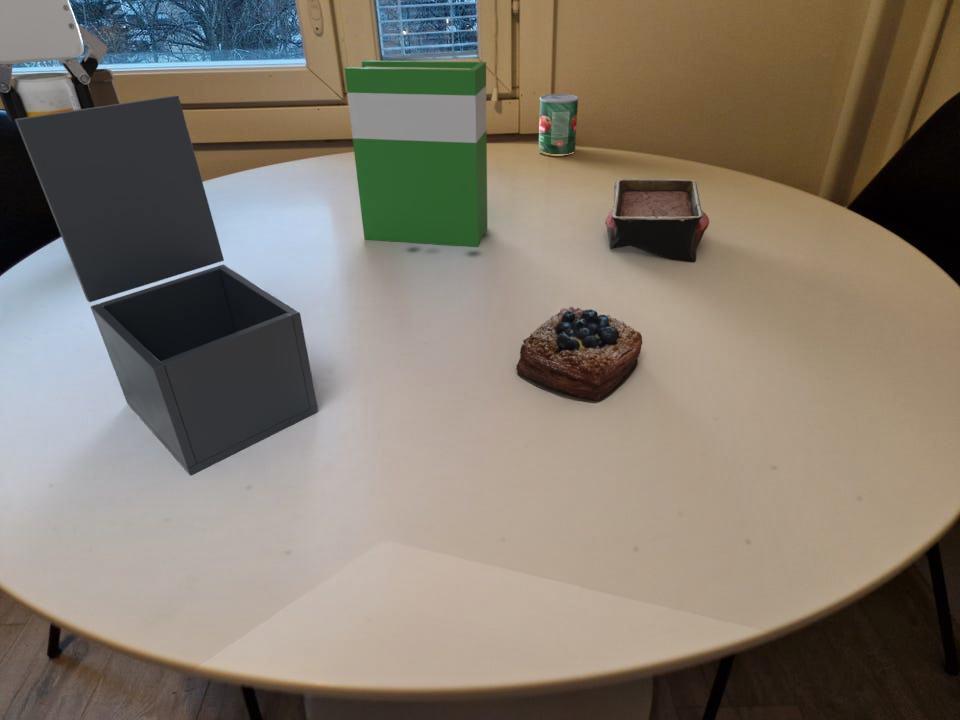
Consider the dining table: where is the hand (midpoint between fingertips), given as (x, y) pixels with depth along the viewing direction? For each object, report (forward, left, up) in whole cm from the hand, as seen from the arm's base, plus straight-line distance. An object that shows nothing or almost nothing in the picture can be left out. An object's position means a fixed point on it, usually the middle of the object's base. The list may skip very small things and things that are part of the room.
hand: (55, 121), depth 76 cm
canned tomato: (+90, -2, -21) cm, 93 cm away
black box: (-3, -38, -21) cm, 43 cm away
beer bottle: (+9, +12, -21) cm, 26 cm away
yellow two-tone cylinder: (0, 0, -10) cm, 10 cm away
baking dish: (+61, -45, -21) cm, 79 cm away
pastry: (+27, -58, -21) cm, 68 cm away
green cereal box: (+40, -18, -21) cm, 49 cm away
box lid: (-3, -31, -2) cm, 31 cm away
